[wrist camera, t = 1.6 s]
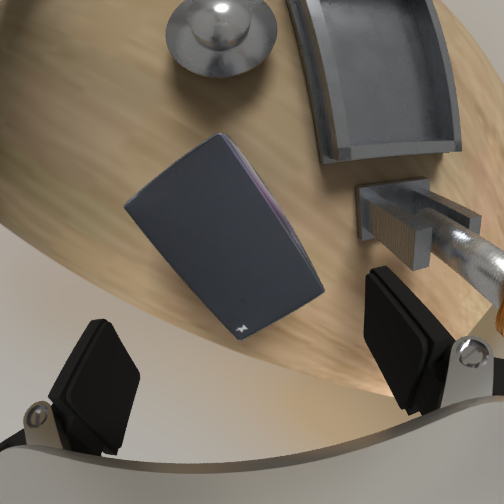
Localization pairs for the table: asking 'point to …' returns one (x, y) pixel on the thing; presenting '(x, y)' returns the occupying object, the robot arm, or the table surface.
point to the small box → (226, 237)
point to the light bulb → (469, 258)
